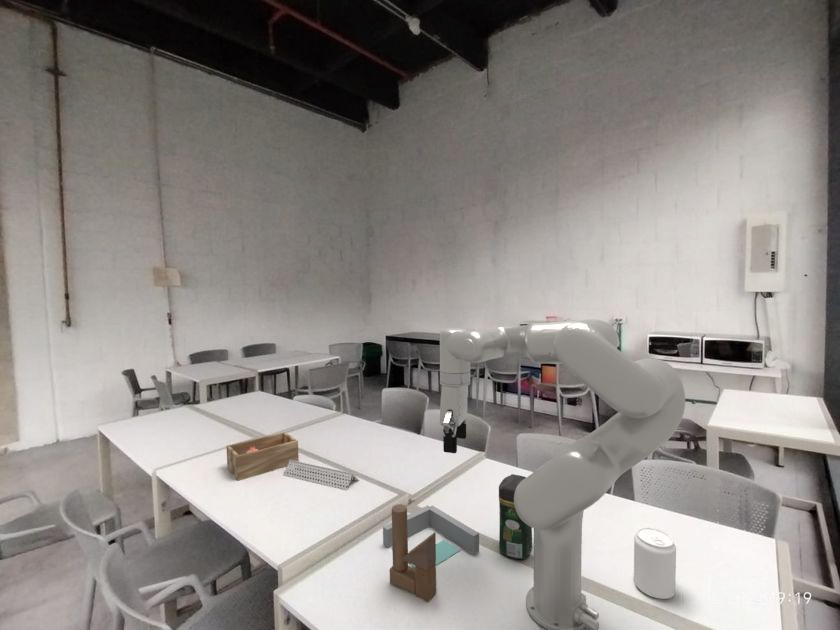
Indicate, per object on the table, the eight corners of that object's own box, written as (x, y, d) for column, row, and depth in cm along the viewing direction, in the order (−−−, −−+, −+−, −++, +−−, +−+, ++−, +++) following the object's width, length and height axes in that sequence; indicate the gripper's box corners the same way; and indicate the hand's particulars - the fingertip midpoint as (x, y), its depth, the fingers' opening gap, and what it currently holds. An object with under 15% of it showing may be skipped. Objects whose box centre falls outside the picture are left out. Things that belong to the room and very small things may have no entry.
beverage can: (660, 574, 95) (661, 525, 94) (683, 600, 86) (685, 547, 86) (626, 575, 94) (627, 526, 94) (647, 602, 86) (648, 548, 85)
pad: (460, 550, 104) (459, 550, 104) (422, 574, 96) (422, 573, 96) (444, 540, 109) (444, 539, 109) (406, 561, 100) (406, 560, 100)
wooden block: (428, 603, 87) (427, 523, 86) (389, 584, 93) (387, 509, 92) (437, 592, 90) (435, 515, 89) (398, 574, 96) (397, 501, 95)
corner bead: (360, 481, 145) (360, 468, 145) (345, 493, 137) (345, 479, 136) (298, 467, 157) (297, 455, 157) (281, 477, 149) (280, 464, 149)
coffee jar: (505, 534, 111) (505, 469, 110) (534, 542, 107) (534, 475, 106) (495, 555, 102) (494, 484, 101) (526, 564, 99) (526, 491, 98)
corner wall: (479, 551, 104) (478, 533, 104) (430, 583, 93) (429, 562, 93) (430, 520, 118) (430, 504, 118) (383, 544, 107) (382, 526, 107)
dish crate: (298, 462, 160) (297, 440, 160) (238, 480, 146) (237, 456, 145) (285, 452, 171) (284, 431, 171) (227, 468, 156) (226, 445, 156)
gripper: (449, 370, 109) (450, 431, 110) (429, 384, 93) (430, 456, 94) (477, 371, 106) (477, 434, 108) (461, 387, 90) (461, 460, 91)
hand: (455, 444), depth 101 cm, fingers open, 9 cm apart
